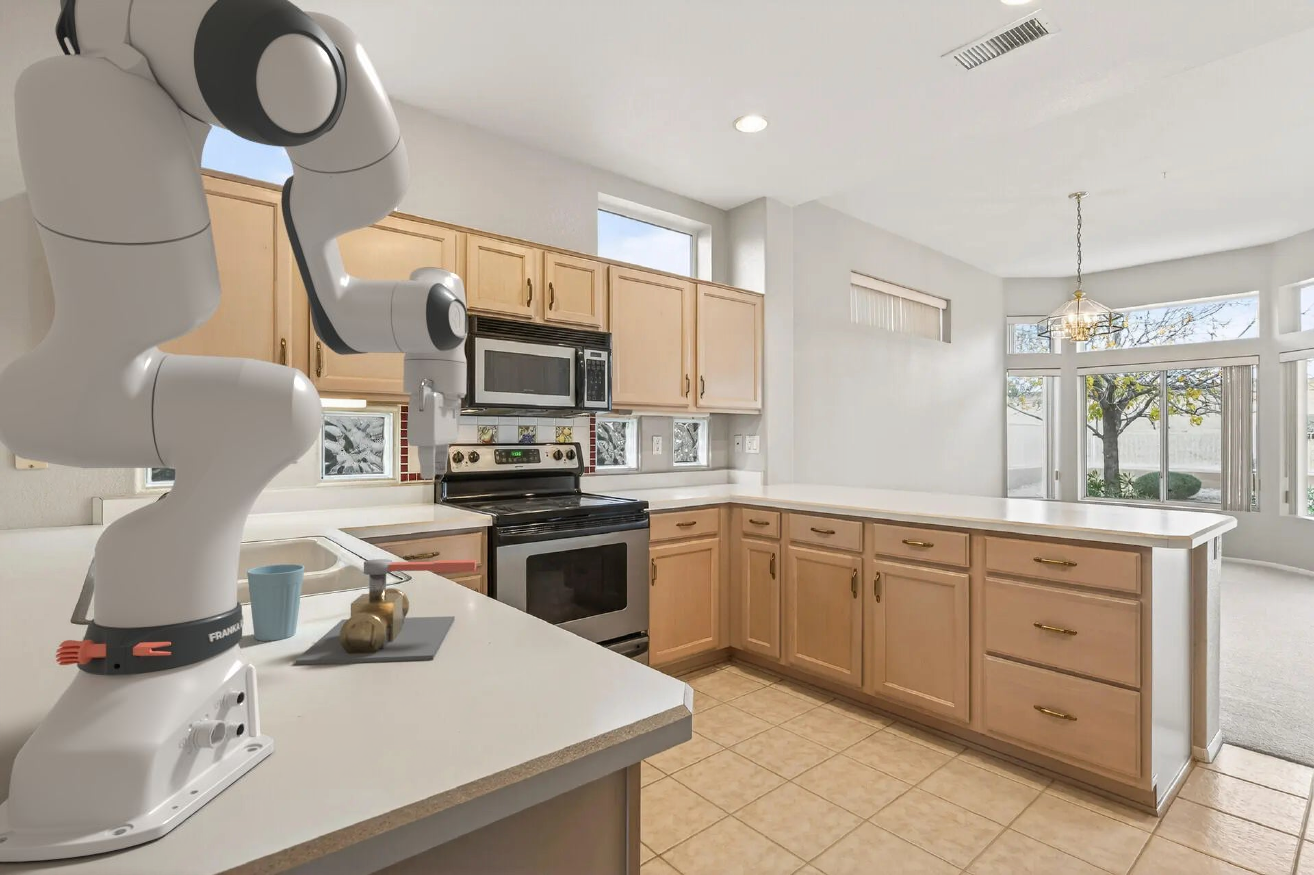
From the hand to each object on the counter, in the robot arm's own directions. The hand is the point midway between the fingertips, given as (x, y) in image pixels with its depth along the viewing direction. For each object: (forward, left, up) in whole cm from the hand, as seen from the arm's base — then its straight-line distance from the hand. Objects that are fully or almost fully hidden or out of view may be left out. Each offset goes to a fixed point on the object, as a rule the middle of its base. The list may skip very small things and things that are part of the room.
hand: (434, 476), depth 96 cm
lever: (+5, +3, -15) cm, 16 cm away
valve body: (+5, +9, -25) cm, 27 cm away
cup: (+9, +25, -26) cm, 37 cm away
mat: (+5, +8, -25) cm, 27 cm away
